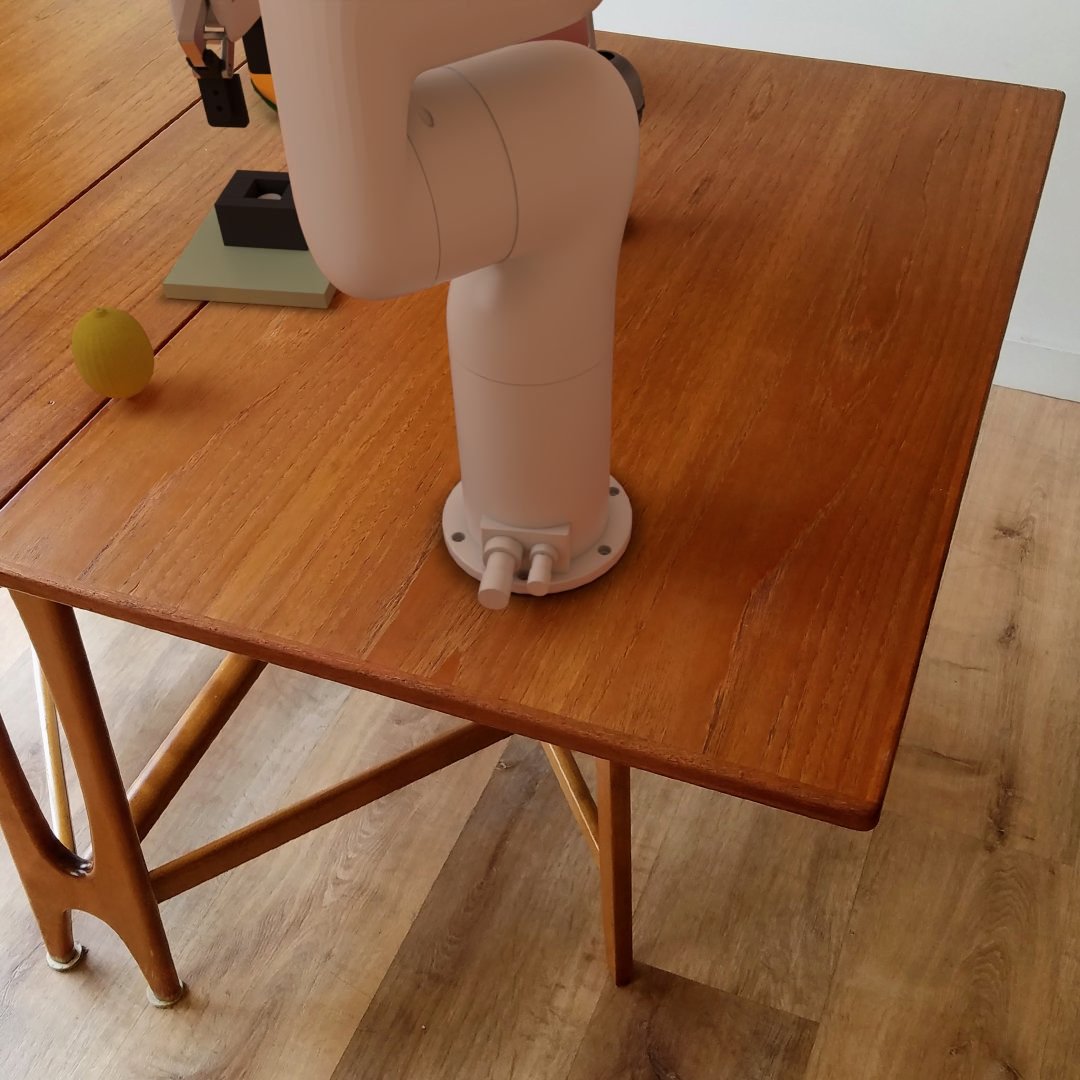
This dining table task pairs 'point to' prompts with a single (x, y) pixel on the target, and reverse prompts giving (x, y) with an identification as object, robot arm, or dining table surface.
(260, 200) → the black hollow block
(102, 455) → the dining table surface
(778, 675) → the dining table surface
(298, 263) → the base pad
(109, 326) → the lemon
